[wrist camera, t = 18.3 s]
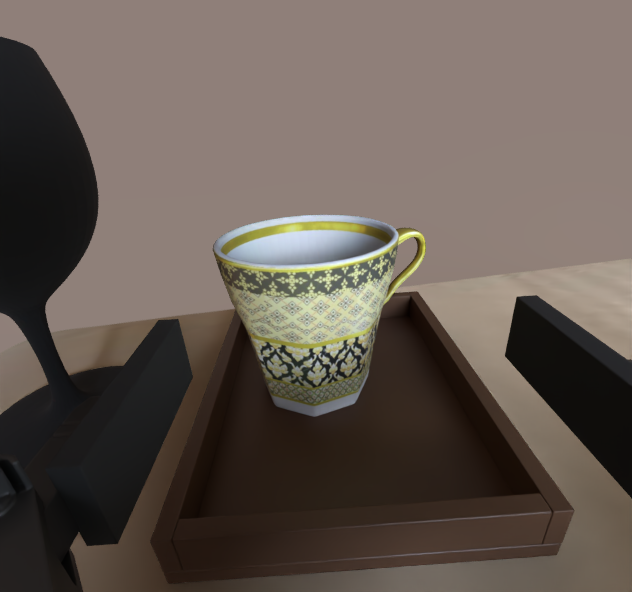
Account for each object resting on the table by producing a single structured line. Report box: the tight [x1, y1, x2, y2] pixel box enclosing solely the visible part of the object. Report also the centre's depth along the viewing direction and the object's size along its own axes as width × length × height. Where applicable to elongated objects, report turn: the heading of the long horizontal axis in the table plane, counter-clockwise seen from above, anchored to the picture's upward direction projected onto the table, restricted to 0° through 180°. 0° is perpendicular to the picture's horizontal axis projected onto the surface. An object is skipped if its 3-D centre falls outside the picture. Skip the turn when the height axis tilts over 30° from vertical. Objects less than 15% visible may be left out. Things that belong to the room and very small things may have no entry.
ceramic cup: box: [213, 215, 426, 417], centre depth 22 cm, size 13×10×10 cm
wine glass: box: [0, 37, 123, 469], centre depth 19 cm, size 10×10×20 cm
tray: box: [150, 292, 574, 583], centre depth 22 cm, size 16×20×3 cm
